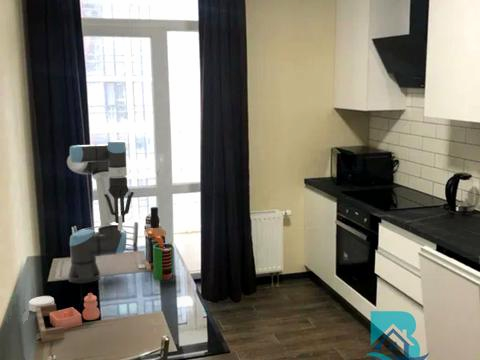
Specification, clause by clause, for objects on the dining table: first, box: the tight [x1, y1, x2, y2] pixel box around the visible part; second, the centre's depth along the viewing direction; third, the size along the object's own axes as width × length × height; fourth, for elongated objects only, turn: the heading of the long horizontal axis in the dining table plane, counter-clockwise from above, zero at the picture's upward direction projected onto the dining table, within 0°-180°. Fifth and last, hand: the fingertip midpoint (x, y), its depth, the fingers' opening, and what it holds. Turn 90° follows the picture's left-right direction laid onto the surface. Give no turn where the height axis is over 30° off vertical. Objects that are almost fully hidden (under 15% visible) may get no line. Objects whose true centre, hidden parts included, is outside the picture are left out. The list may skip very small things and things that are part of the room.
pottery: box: [49, 292, 101, 330], centre depth 203 cm, size 18×10×10 cm, turn 127°
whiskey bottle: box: [144, 206, 167, 273], centre depth 266 cm, size 10×10×32 cm
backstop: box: [35, 303, 65, 343], centre depth 198 cm, size 26×8×4 cm, turn 25°
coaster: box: [28, 295, 55, 313], centre depth 217 cm, size 10×10×4 cm
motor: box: [153, 236, 174, 281], centre depth 253 cm, size 10×9×20 cm
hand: (120, 230), depth 227 cm, fingers closed
